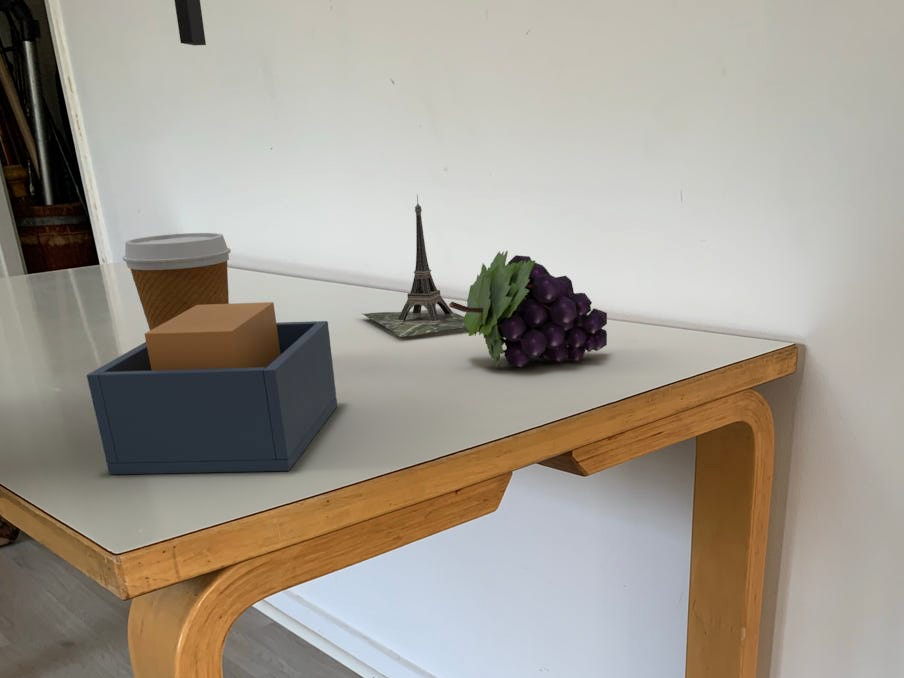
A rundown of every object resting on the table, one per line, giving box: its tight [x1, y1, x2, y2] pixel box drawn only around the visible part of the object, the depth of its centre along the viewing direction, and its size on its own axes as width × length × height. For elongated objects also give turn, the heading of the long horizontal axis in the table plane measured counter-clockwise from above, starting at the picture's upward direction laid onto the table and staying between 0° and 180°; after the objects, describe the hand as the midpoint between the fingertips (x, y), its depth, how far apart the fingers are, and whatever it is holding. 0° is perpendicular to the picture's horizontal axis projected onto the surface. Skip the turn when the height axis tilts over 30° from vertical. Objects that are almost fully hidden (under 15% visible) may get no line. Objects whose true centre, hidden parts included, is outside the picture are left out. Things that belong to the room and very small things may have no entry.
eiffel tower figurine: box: [362, 194, 465, 338], centre depth 108 cm, size 15×10×13 cm
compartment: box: [86, 320, 338, 475], centre depth 73 cm, size 13×17×7 cm
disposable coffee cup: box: [122, 232, 232, 331], centre depth 92 cm, size 10×10×12 cm
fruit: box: [448, 250, 608, 369], centre depth 90 cm, size 10×11×15 cm
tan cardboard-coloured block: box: [144, 301, 281, 371], centre depth 72 cm, size 6×11×8 cm, turn 176°
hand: (88, 48), depth 62 cm, fingers open, 13 cm apart
